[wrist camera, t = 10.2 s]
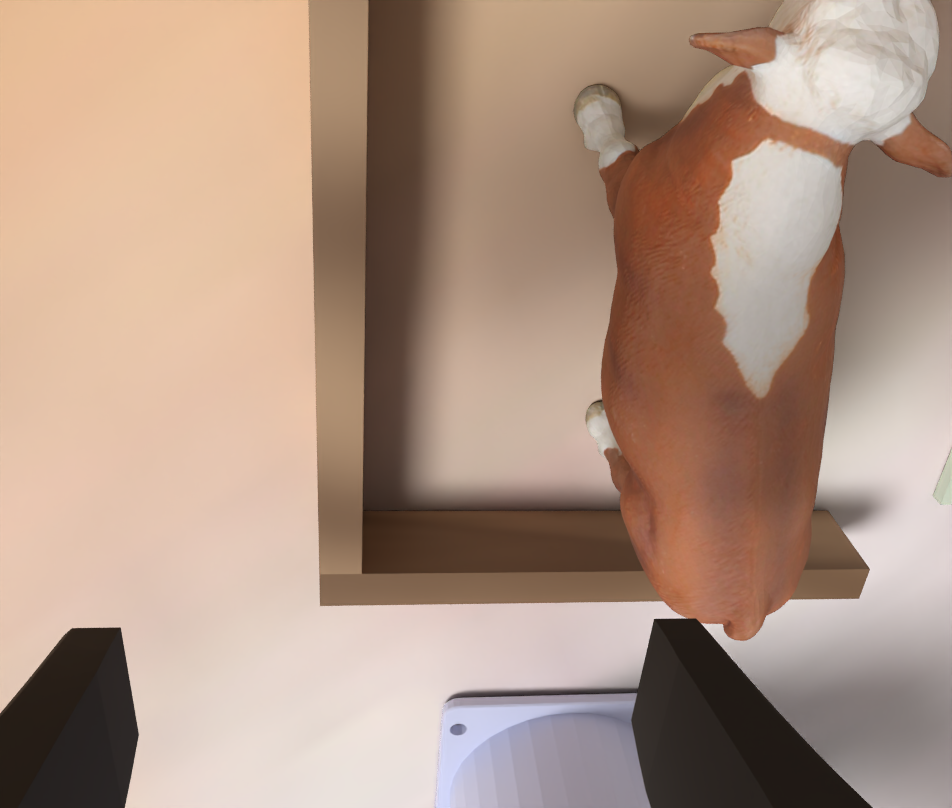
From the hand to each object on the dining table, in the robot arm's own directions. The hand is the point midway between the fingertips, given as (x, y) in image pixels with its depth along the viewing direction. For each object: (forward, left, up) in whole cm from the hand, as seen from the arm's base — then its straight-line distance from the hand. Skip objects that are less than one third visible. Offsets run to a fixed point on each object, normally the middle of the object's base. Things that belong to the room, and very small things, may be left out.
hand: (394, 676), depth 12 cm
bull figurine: (+3, -6, -11) cm, 13 cm away
